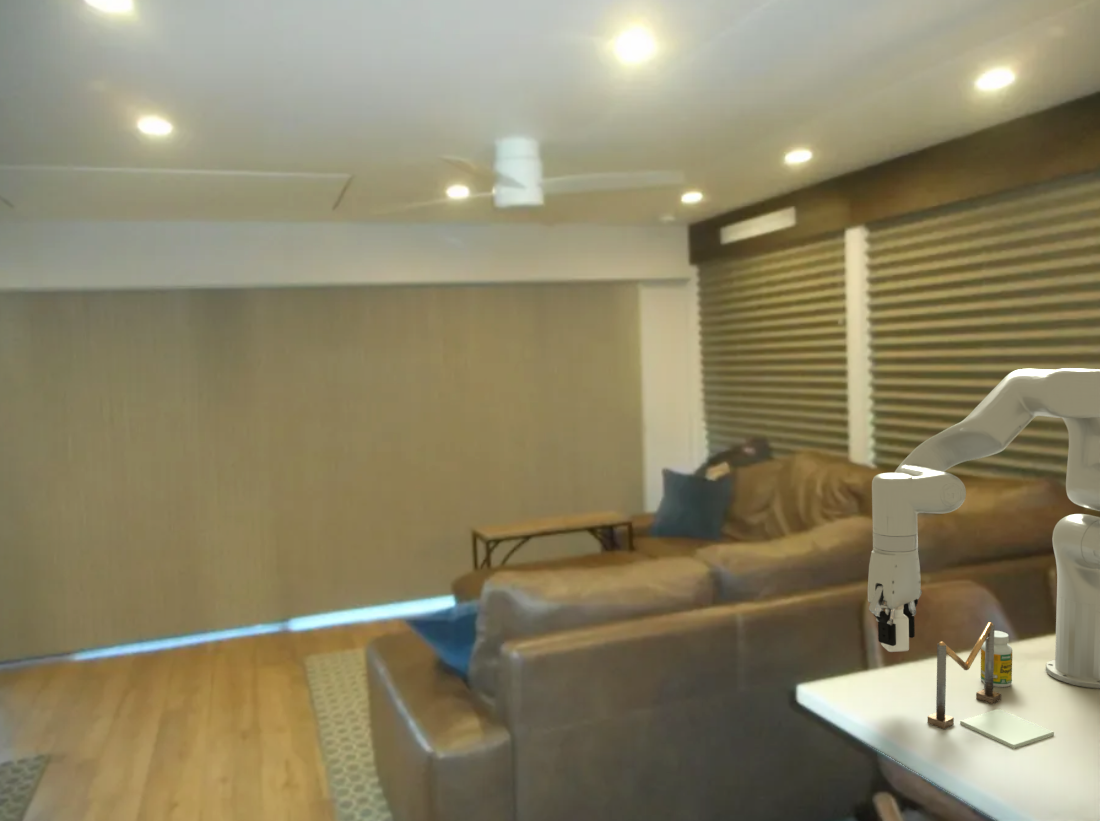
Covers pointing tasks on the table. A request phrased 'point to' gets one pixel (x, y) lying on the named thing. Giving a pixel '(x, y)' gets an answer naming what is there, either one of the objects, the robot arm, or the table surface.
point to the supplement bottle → (999, 660)
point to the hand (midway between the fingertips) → (896, 638)
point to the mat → (1007, 728)
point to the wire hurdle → (984, 695)
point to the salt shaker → (899, 631)
